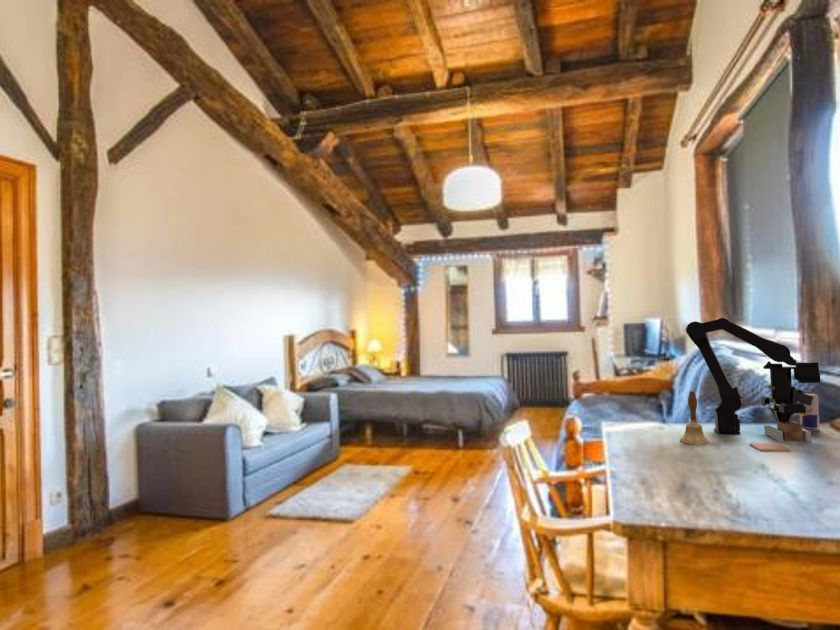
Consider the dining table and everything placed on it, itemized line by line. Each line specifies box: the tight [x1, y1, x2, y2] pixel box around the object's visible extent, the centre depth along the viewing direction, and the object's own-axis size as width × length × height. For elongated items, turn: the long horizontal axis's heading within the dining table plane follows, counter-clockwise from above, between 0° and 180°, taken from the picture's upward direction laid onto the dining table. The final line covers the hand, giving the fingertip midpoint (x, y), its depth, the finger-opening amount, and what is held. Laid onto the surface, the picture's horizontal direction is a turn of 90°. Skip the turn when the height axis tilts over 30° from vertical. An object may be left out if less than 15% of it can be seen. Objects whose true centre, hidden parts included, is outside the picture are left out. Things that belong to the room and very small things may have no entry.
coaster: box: [749, 442, 792, 453], centre depth 161 cm, size 8×8×1 cm
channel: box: [763, 424, 812, 443], centre depth 173 cm, size 9×11×3 cm
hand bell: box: [679, 390, 710, 445], centre depth 173 cm, size 8×8×16 cm
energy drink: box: [798, 392, 820, 432], centre depth 183 cm, size 5×5×12 cm
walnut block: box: [776, 421, 804, 442], centre depth 171 cm, size 5×5×5 cm
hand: (783, 431), depth 176 cm, fingers closed
